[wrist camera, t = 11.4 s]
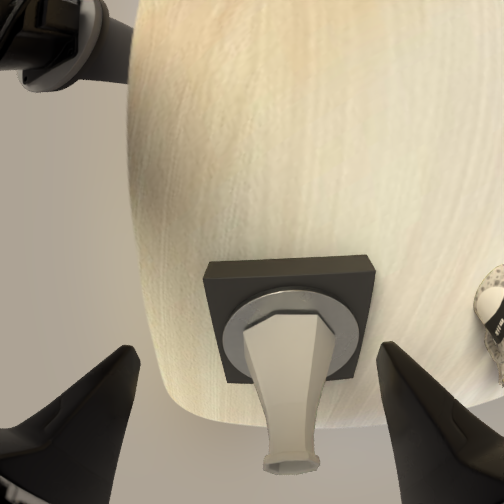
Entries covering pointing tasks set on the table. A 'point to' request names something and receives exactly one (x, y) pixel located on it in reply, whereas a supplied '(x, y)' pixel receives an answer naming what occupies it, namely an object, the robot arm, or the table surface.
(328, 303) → the pan
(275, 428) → the flask
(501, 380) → the cupcake
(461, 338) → the table surface
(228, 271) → the scale
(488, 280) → the mug
